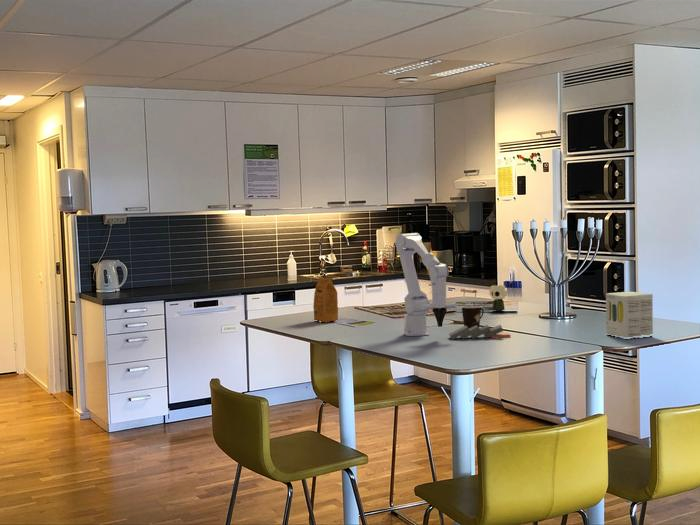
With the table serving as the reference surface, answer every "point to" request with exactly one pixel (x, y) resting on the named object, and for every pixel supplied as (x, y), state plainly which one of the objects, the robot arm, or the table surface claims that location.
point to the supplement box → (629, 314)
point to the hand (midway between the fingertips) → (439, 326)
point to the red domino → (500, 335)
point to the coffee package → (325, 301)
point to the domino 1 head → (459, 332)
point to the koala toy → (498, 297)
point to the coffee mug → (472, 315)
